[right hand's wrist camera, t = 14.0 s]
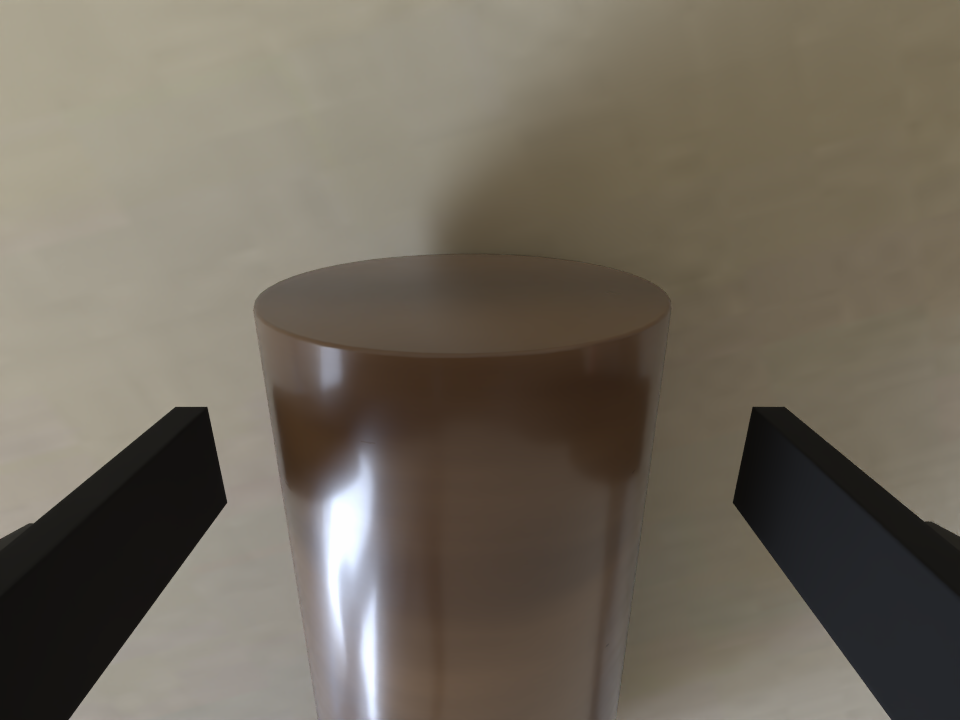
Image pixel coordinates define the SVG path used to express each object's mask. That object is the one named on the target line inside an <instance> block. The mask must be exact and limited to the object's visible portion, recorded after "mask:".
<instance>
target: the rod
mask: <svg viewBox="0 0 960 720" xmlns="http://www.w3.org/2000/svg"><path fill="white" fill-rule="evenodd" d="M253 311H254V317H255V324H256V330H257V336H258V343H259V349H260V355H261V362H262V368H263V374H264V381H265V387H266V393H267V399H268V406H269V412H270V418H271V425H272V431H273V437H274V444H275V450H276V456H277V463H278V469H279V475H280V482H281V488H282V494H283V501H284V507H285V513H286V519H287V526H288V532H289V538H290V545H291V551H292V557H293V564H294V570H295V576H296V583H297V589H298V595H299V602H300V608H301V614H302V621H303V627H304V633H305V639H306V646H307V652H308V658H309V665H310V671H311V677H312V684H313V690H314V696H315V703H316V709H317V715H318V720H616V716H617V709H618V701H619V694H620V686H621V679H622V671H623V664H624V656H625V649H626V642H627V634H628V627H629V619H630V612H631V604H632V597H633V589H634V582H635V575H636V567H637V560H638V552H639V545H640V537H641V530H642V522H643V515H644V508H645V500H646V493H647V485H648V478H649V470H650V463H651V455H652V448H653V441H654V433H655V426H656V418H657V411H658V403H659V396H660V389H661V381H662V374H663V366H664V359H665V351H666V344H667V336H668V329H669V322H670V314H671V301H670V298H669V297H668V295H667V294H666V292H664V291H663V290H662V289H661V288H660V287H658V286H657V285H655V284H653V283H651V282H650V281H647V280H645V279H643V278H640V277H638V276H635V275H632V274H629V273H626V272H623V271H619V270H616V269H612V268H608V267H603V266H598V265H594V264H588V263H582V262H576V261H569V260H562V259H553V258H544V257H532V256H518V255H497V254H439V255H418V256H403V257H391V258H382V259H373V260H366V261H358V262H352V263H346V264H340V265H335V266H330V267H325V268H321V269H317V270H313V271H309V272H306V273H302V274H299V275H296V276H293V277H290V278H288V279H285V280H283V281H281V282H278V283H276V284H275V285H273V286H271V287H269V288H267V289H266V290H265V291H263V292H262V293H261V294H260V295H259V296H258V298H257V299H256V300H255V304H254V310H253Z"/></svg>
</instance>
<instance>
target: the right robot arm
mask: <svg viewBox="0 0 960 720" xmlns="http://www.w3.org/2000/svg"><path fill="white" fill-rule="evenodd" d="M226 504H227V499H226V494H225V490H224V485H223V480H222V475H221V470H220V466H219V461H218V456H217V451H216V446H215V441H214V437H213V432H212V427H211V422H210V417H209V413H208V408H207V407H175V408H174V409H172V410H171V411H170V412H169V413H168V414H166V415H165V416H164V417H163V418H161V419H160V420H159V421H158V422H157V423H155V424H154V425H153V426H152V427H151V428H149V429H148V430H147V431H146V432H144V433H143V434H142V435H141V436H140V437H138V438H137V439H136V440H135V441H133V442H132V443H131V444H130V445H129V446H127V447H126V448H125V449H124V450H123V451H121V452H120V453H119V454H118V455H116V456H115V457H114V458H113V459H112V460H110V461H109V462H108V463H107V464H106V465H104V466H103V467H102V468H101V469H99V470H98V471H97V472H96V473H95V474H93V475H92V476H91V477H90V478H88V479H87V480H86V481H85V482H84V483H82V484H81V485H80V486H79V487H78V488H76V489H75V490H74V491H73V492H71V493H70V494H69V495H68V496H67V497H65V498H64V499H63V500H62V501H60V502H59V503H58V504H57V505H56V506H54V507H53V508H52V509H51V510H50V511H48V512H47V513H46V514H45V515H43V516H42V517H41V518H40V519H39V520H37V521H36V522H35V523H29V524H27V525H25V526H24V527H22V528H20V529H18V530H16V531H14V532H12V533H11V534H9V535H7V536H5V537H3V538H1V539H0V720H69V718H70V717H71V716H72V714H73V713H74V712H75V710H76V709H77V707H78V706H79V705H80V703H81V702H82V701H83V699H84V698H85V697H86V695H87V694H88V692H89V691H90V690H91V688H92V687H93V686H94V684H95V683H96V681H97V680H98V679H99V677H100V676H101V675H102V673H103V672H104V671H105V669H106V668H107V666H108V665H109V664H110V662H111V661H112V660H113V658H114V657H115V655H116V654H117V653H118V651H119V650H120V649H121V647H122V646H123V645H124V643H125V642H126V640H127V639H128V638H129V636H130V635H131V634H132V632H133V631H134V629H135V628H136V627H137V625H138V624H139V623H140V621H141V620H142V619H143V617H144V616H145V614H146V613H147V612H148V610H149V609H150V608H151V606H152V605H153V603H154V602H155V601H156V599H157V598H158V597H159V595H160V594H161V593H162V591H163V590H164V588H165V587H166V586H167V584H168V583H169V582H170V580H171V579H172V577H173V576H174V575H175V573H176V572H177V571H178V569H179V568H180V567H181V565H182V564H183V562H184V561H185V560H186V558H187V557H188V556H189V554H190V553H191V551H192V550H193V549H194V547H195V546H196V545H197V543H198V542H199V541H200V539H201V538H202V536H203V535H204V534H205V532H206V531H207V530H208V528H209V527H210V525H211V524H212V523H213V521H214V520H215V519H216V517H217V516H218V515H219V513H220V512H221V510H222V509H223V508H224V506H225V505H226ZM733 504H734V505H735V506H736V508H737V509H738V510H739V512H740V513H741V515H742V516H743V517H744V519H745V520H746V521H747V523H748V524H749V525H750V527H751V528H752V530H753V531H754V532H755V534H756V535H757V536H758V538H759V539H760V541H761V542H762V543H763V545H764V546H765V547H766V549H767V550H768V551H769V553H770V554H771V556H772V557H773V558H774V560H775V561H776V562H777V564H778V565H779V567H780V568H781V569H782V571H783V572H784V573H785V575H786V576H787V577H788V579H789V580H790V582H791V583H792V584H793V586H794V587H795V588H796V590H797V591H798V593H799V594H800V595H801V597H802V598H803V599H804V601H805V602H806V603H807V605H808V606H809V608H810V609H811V610H812V612H813V613H814V614H815V616H816V617H817V619H818V620H819V621H820V623H821V624H822V625H823V627H824V628H825V629H826V631H827V632H828V634H829V635H830V636H831V638H832V639H833V640H834V642H835V643H836V645H837V646H838V647H839V649H840V650H841V651H842V653H843V654H844V655H845V657H846V658H847V660H848V661H849V662H850V664H851V665H852V666H853V668H854V669H855V671H856V672H857V673H858V675H859V676H860V677H861V679H862V680H863V681H864V683H865V684H866V686H867V687H868V688H869V690H870V691H871V692H872V694H873V695H874V697H875V698H876V699H877V701H878V702H879V703H880V705H881V706H882V707H883V709H884V710H885V712H886V713H887V714H888V716H889V717H890V718H891V720H960V537H959V536H957V535H955V534H954V533H952V532H950V531H948V530H946V529H944V528H942V527H941V526H939V525H937V524H935V523H933V522H924V521H923V520H921V519H920V518H919V517H918V516H917V515H915V514H914V513H913V512H912V511H910V510H909V509H908V508H907V507H906V506H904V505H903V504H902V503H901V502H900V501H898V500H897V499H896V498H895V497H893V496H892V495H891V494H890V493H889V492H887V491H886V490H885V489H884V488H882V487H881V486H880V485H879V484H878V483H876V482H875V481H874V480H873V479H872V478H870V477H869V476H868V475H867V474H865V473H864V472H863V471H862V470H861V469H859V468H858V467H857V466H856V465H854V464H853V463H852V462H851V461H850V460H848V459H847V458H846V457H845V456H844V455H842V454H841V453H840V452H839V451H837V450H836V449H835V448H834V447H833V446H831V445H830V444H829V443H828V442H827V441H825V440H824V439H823V438H822V437H820V436H819V435H818V434H817V433H816V432H814V431H813V430H812V429H811V428H809V427H808V426H807V425H806V424H805V423H803V422H802V421H801V420H800V419H799V418H797V417H796V416H795V415H794V414H792V413H791V412H790V411H789V410H788V409H786V408H785V407H753V408H752V413H751V417H750V422H749V427H748V432H747V437H746V441H745V446H744V451H743V456H742V461H741V466H740V470H739V475H738V480H737V485H736V490H735V494H734V499H733Z"/></svg>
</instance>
